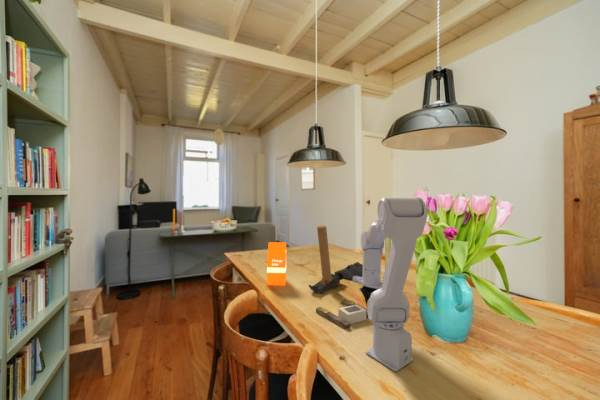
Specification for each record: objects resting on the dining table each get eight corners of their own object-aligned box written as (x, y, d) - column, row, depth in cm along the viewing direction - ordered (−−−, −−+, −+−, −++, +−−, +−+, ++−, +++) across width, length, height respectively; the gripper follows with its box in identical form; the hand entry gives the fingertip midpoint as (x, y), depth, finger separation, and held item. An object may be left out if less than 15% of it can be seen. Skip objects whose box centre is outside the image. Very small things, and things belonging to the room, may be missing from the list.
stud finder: (366, 320, 91) (366, 309, 91) (347, 325, 87) (348, 314, 87) (356, 313, 96) (356, 303, 96) (338, 318, 92) (338, 307, 92)
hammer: (318, 300, 112) (311, 233, 107) (309, 297, 115) (302, 232, 111) (343, 281, 126) (338, 221, 122) (335, 278, 130) (329, 220, 125)
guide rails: (375, 316, 93) (375, 311, 93) (345, 329, 84) (345, 323, 84) (344, 302, 105) (344, 298, 105) (315, 312, 96) (315, 307, 96)
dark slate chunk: (329, 276, 140) (329, 267, 140) (350, 267, 156) (351, 260, 156) (354, 282, 130) (354, 273, 130) (374, 273, 146) (374, 265, 146)
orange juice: (285, 285, 124) (285, 243, 123) (266, 285, 124) (267, 243, 123) (286, 280, 131) (286, 240, 131) (269, 279, 132) (269, 240, 131)
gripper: (398, 272, 81) (397, 314, 81) (362, 261, 93) (361, 299, 93) (385, 276, 77) (384, 321, 77) (348, 265, 89) (348, 304, 89)
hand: (370, 309), depth 85 cm, fingers closed
